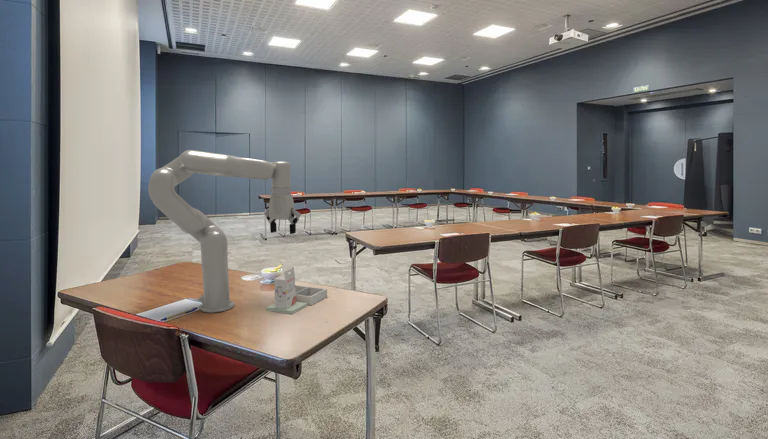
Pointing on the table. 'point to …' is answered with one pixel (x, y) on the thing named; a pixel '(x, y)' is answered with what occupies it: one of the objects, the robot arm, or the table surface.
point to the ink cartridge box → (285, 289)
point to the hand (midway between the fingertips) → (283, 232)
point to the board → (289, 310)
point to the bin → (305, 291)
